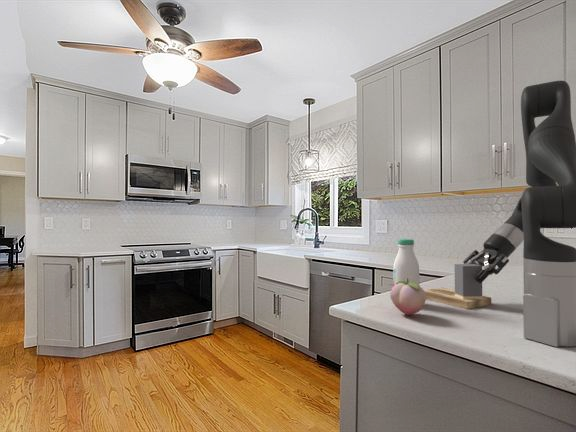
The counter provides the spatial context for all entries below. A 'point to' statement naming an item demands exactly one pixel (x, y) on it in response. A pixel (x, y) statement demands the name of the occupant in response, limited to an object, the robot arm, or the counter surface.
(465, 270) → the block
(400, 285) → the decorative fruit
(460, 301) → the oak board
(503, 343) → the counter surface
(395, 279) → the milk bottle
